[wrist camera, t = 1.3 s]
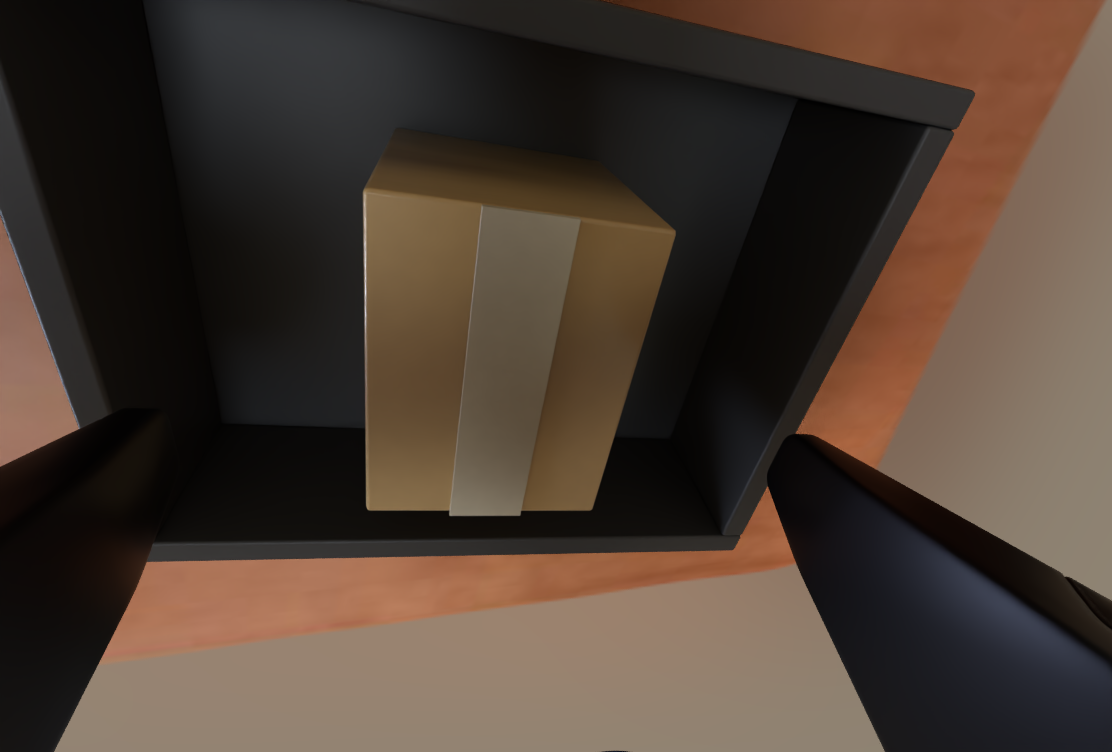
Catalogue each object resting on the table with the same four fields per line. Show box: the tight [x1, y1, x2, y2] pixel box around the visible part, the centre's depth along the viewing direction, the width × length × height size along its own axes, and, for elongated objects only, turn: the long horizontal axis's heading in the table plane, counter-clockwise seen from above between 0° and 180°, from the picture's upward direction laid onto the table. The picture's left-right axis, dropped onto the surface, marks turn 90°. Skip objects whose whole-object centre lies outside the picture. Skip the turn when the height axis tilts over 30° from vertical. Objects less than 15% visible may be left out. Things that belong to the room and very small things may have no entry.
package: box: [363, 128, 676, 516], centre depth 11 cm, size 6×4×5 cm
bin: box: [0, 0, 975, 562], centre depth 12 cm, size 11×14×4 cm
